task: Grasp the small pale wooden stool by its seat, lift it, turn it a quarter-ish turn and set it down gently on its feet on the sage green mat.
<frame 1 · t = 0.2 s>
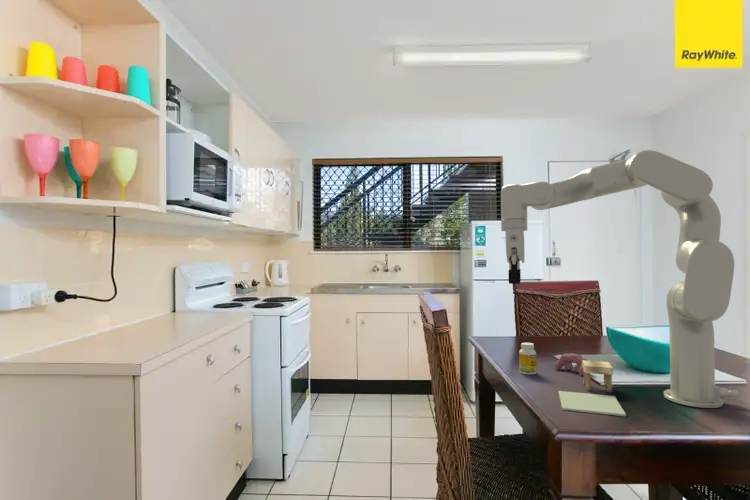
hand: (514, 282, 128), 31 cm above the table, tool pointing down, fingers open, 9 cm apart
stool: (597, 388, 123), on the table
mat: (589, 403, 111), on the table
supplement bottle: (527, 373, 140), on the table
video game controller: (572, 372, 141), on the table
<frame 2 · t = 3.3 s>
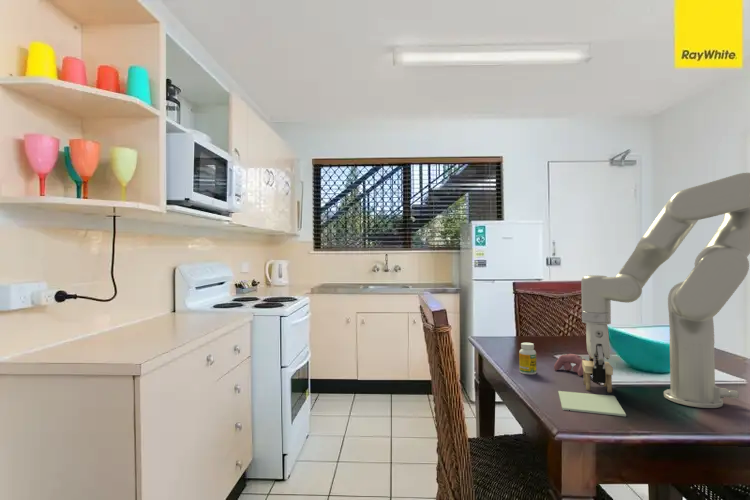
hand: (596, 378, 123), 3 cm above the table, tool pointing down, fingers closed on stool, 7 cm apart
stool: (597, 388, 123), on the table, touching gripper
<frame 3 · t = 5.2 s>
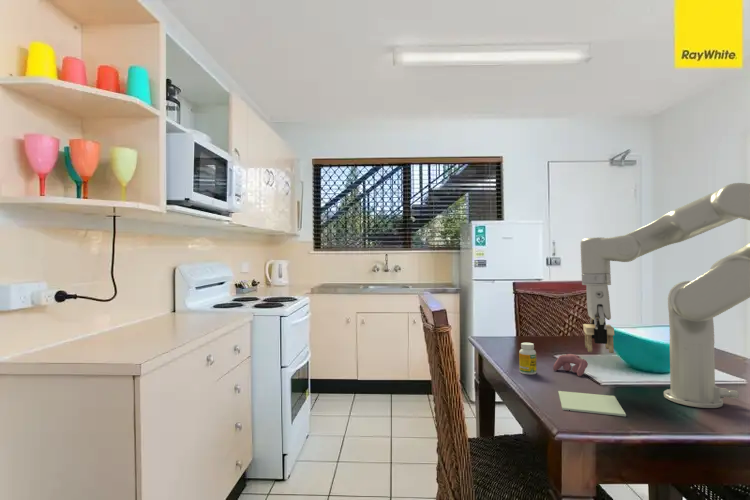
hand: (598, 340, 123), 14 cm above the table, tool pointing down, fingers closed on stool, 7 cm apart
stool: (599, 350, 123), point 11 cm above the table, touching gripper
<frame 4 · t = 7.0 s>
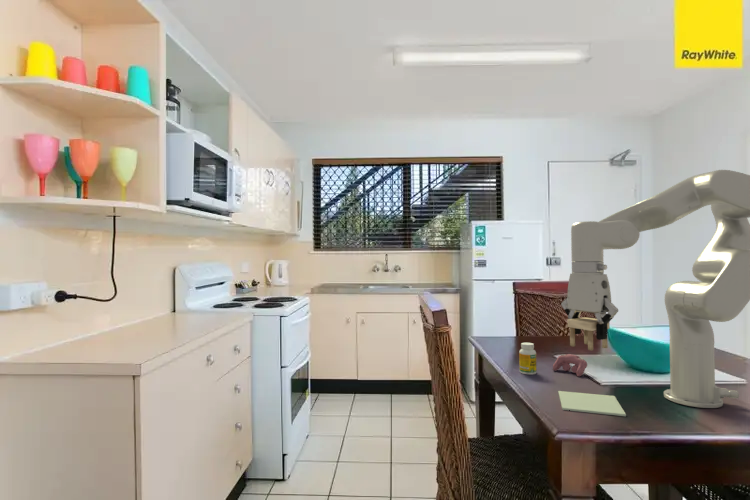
hand: (588, 336, 111), 18 cm above the table, tool pointing down, fingers closed on stool, 7 cm apart
stool: (588, 346, 111), point 15 cm above the table, touching gripper
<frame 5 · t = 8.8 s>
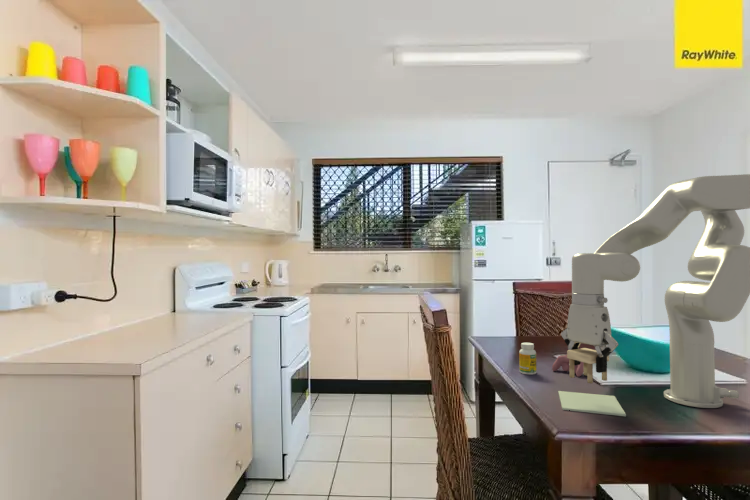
hand: (588, 367, 111), 9 cm above the table, tool pointing down, fingers closed on stool, 7 cm apart
stool: (588, 378, 111), point 7 cm above the table, touching gripper
when the fingers open (5 cm above the table, at t = 10.5 s): stool drops 1 cm, resting on mat.
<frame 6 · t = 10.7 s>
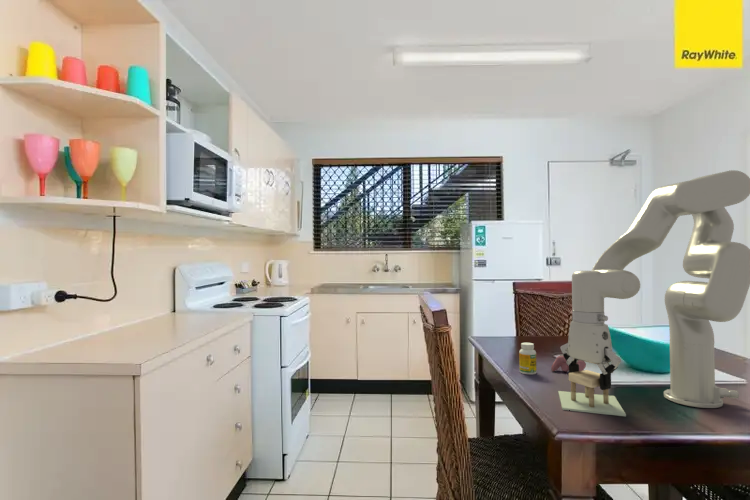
hand: (589, 383, 111), 5 cm above the table, tool pointing down, fingers open, 8 cm apart
stool: (589, 401, 111), resting on mat
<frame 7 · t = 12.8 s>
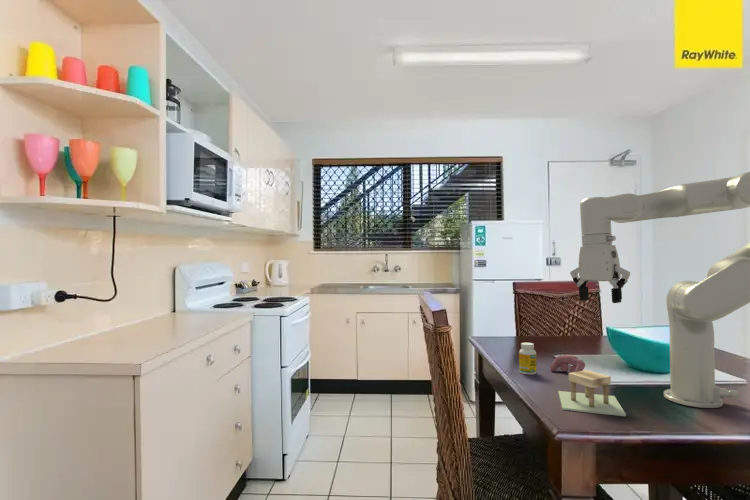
hand: (600, 301, 120), 26 cm above the table, tool pointing down, fingers open, 9 cm apart
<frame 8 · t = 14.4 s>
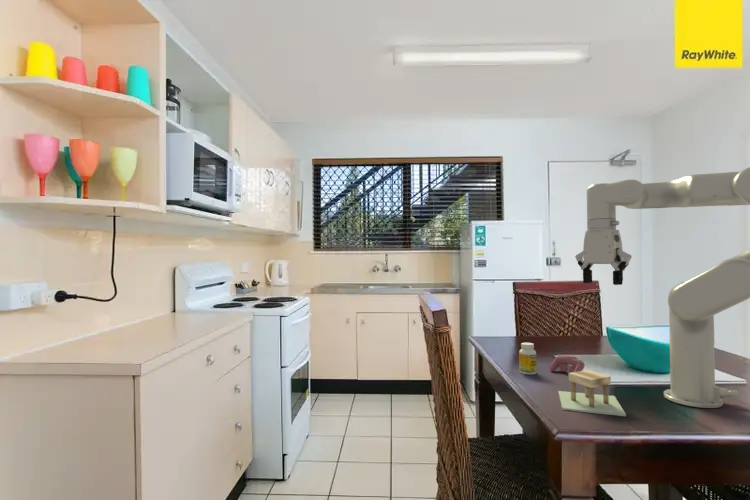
hand: (602, 283, 125), 30 cm above the table, tool pointing down, fingers open, 9 cm apart
at the end: stool inside the target area on the mat (0.1 cm from its centre), point 0.5 cm above the mat's base; stool tilted 0°; the gripper is holding nothing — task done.
